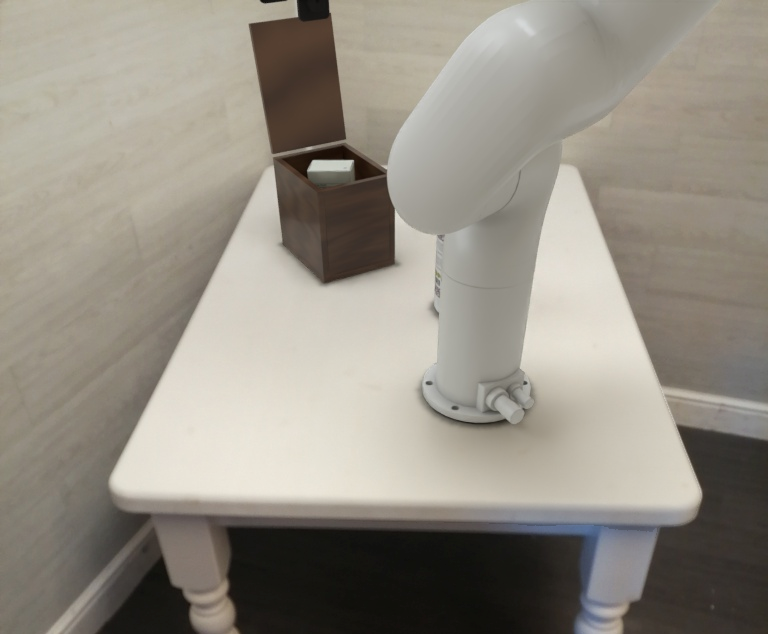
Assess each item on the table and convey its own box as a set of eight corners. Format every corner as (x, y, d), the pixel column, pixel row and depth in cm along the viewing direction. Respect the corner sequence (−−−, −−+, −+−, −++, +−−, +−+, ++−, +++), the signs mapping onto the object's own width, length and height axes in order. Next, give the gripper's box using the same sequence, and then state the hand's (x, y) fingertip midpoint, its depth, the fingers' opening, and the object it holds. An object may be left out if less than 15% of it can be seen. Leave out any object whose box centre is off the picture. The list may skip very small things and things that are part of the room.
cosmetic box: (359, 242, 111) (356, 159, 102) (356, 255, 108) (352, 170, 99) (318, 241, 111) (311, 158, 103) (313, 254, 108) (306, 169, 100)
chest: (395, 264, 108) (395, 174, 99) (324, 283, 104) (317, 192, 95) (349, 227, 117) (345, 142, 108) (282, 243, 113) (272, 157, 104)
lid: (331, 12, 98) (315, 14, 102) (250, 23, 94) (237, 24, 98) (346, 139, 107) (331, 136, 111) (273, 154, 103) (260, 150, 107)
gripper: (198, -227, 66) (228, -1, 78) (273, -231, 55) (295, 32, 67) (274, -228, 68) (292, -8, 81) (359, -231, 58) (365, 22, 70)
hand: (293, 10), depth 74 cm, fingers open, 9 cm apart
